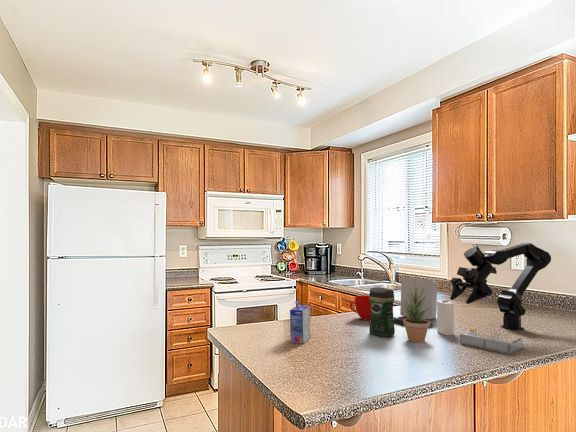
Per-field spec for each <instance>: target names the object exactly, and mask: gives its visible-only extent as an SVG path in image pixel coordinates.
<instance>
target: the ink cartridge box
mask: <svg viewBox="0 0 576 432" xmlns="http://www.w3.org/2000/svg"><path fill="white" fill-rule="evenodd" d="M294 303H295V305H296V306H294V307H293V308H291V309H289V321H290V322H289V324H290V325H289V327H290V330H289V331H290V343H291V344H292V343H293V344H301V345H302V344H305V343H306V342H307V341H308V340H309V339H310V338H311V306H310V305H303V304H301V303H300V301H299V300H296V301H294Z"/></svg>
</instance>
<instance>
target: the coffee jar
mask: <svg viewBox="0 0 576 432" xmlns="http://www.w3.org/2000/svg"><path fill="white" fill-rule="evenodd" d="M368 296H369V299H370V303H371V313H370V321H369V331H368V332H369V333H370V334H371V335H374V336H377V337H383V338H384V337H388V338H389V337H392V336H394V335H395V332H396V330H395V329H396V328H395V323H394V302H395V293H394V290H393V289H392V288H385V287H379V286H378V287H372V288H370V290H369V295H368Z"/></svg>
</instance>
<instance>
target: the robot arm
mask: <svg viewBox="0 0 576 432" xmlns="http://www.w3.org/2000/svg"><path fill="white" fill-rule="evenodd" d="M521 255H523V256H524V257H525V258H526V260H525V262H526V264H525V265H526V266H524V268H523V269H522V271H521V273H520V274H519V276H518V277H517V279H516V280H515V281H514V283H513V285H512V286H511V287H510V289H508V290H507V289H503V290H501V292H500V294H499V295H498V296H497V300H496V302H497V306H498V309H499V311H500V312H501V313H503V317H502V318H503V320H502V321H503V323H502V325H500V327H502V328H505V329H508V330H513V331H516V330H517V331H518V330H525V327H523V326H522V317H523V316H525V314H526V309H525V308H524V306H523V305H522V303H523V300H522V298H523V295H524V293H525V291H526V290H527V288H528V287H529V286H530V284H531V283H532V281H533V280H534V278H535V277H536V275H537V274H538V272H540V271H541V270H543V269H545V268H546V267H547V266H549V264H550V263H551V261H552V256H551V254H550V253H549V252H548V251H546V250H544V249H542V248H540V247H538V246H536V245H535V244H533V243H531V242H522V243H519V244H517V245H513V246H511V247H506V248H503V249H496V250H495V249H491V250H486V251H484V252H482V250H481V249H480V248H479V246H478V245H475V246H474V245H473V247H471V248H468V249H467V250H465V251H464V253H463V257H464V258H465V259H466V261H468V263H469V264H470V265H471V266H472V267H469V268H467V267H461V266H459V267H458V269H457V272H456V275H457V276H460V277H462V278H460V277H452V278H451V279H450V283H451V285H452V291H451V294H450V300H451V301H454V300H456V299H457V298H458V297H459V296H461V295H462V294H463V293H464V291H466V290H467V289H471V290H472V292H471V293H470V295H469V296H468V297H467V299H466V300H465V303H466V305H469V304H472V303H474V302H476V301H478V300H481V299H483V298H488V297H491V296H492V294H493V289H492V288H491V287H490V286H489V284H488V283H487V282H488V279H487V278H488V277H489V276H490V275H491V274H495V275H497V274H498V272H497V269H496V268H497V267H496V266H497V265H498V266H500V265H502V264H504V263H506V262H507V261H508V260H509V259H512V258H515V257H518V256H521ZM493 265H496V266H495V267H494V266H493Z"/></svg>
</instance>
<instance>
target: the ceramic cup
mask: <svg viewBox="0 0 576 432" xmlns="http://www.w3.org/2000/svg"><path fill="white" fill-rule="evenodd" d="M353 304H354V308H355V309H354V308H353ZM349 308H350V310H351V311H352V312H354V313H356V314H357V316H359V318H360V319H361V320H363V321H369V322H370V313H371V303H370V299H369V295H357V296H355V297H354V301H351V302H350V303H349Z"/></svg>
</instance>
